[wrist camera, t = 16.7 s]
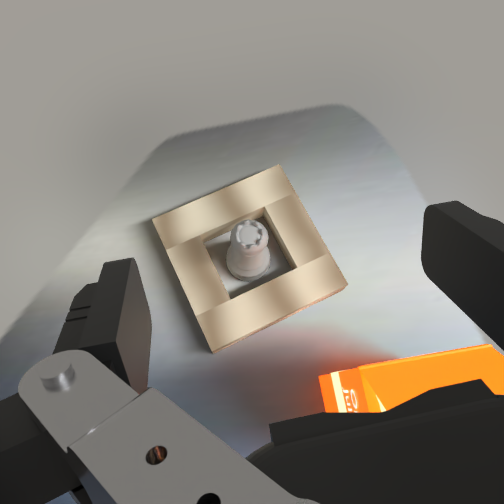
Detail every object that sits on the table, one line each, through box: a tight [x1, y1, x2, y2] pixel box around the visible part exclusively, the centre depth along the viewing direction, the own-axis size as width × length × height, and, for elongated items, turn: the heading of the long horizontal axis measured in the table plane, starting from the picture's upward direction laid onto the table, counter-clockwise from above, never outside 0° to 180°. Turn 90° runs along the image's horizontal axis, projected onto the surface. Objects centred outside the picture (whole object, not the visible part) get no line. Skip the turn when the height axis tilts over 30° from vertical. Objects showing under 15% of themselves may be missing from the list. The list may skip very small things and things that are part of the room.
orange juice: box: [319, 344, 504, 412], centre depth 30 cm, size 8×9×20 cm
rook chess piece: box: [226, 219, 271, 281], centre depth 40 cm, size 4×4×8 cm
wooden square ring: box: [152, 164, 348, 354], centre depth 43 cm, size 14×14×2 cm
